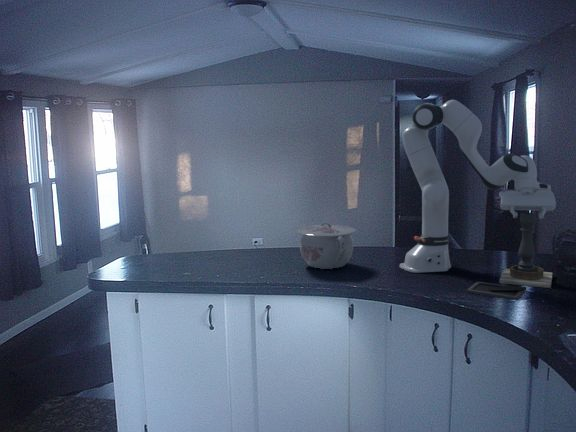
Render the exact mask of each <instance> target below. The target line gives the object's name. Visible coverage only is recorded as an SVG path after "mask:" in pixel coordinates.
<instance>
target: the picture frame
mask: <svg viewBox="0 0 576 432" xmlns="http://www.w3.org/2000/svg"><path fill="white" fill-rule="evenodd" d="M465 291H466V292H467V294H472V293H473V295H479V294H480V296H485V297H486V296H487V297H493V298H499V299H500V298H501V299H507V300H512V301H518V300H519V299H520V298H521V297H522V296H523V295H524V294H525V293H526V292H527V286H523V285H514V284H513V285H508V284H507V285H506V284H501V283H492V282H484V281H476V282H475V283H473V284H472V285H470V286H469V287H468V288H467V289H466V290H465Z"/></svg>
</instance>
